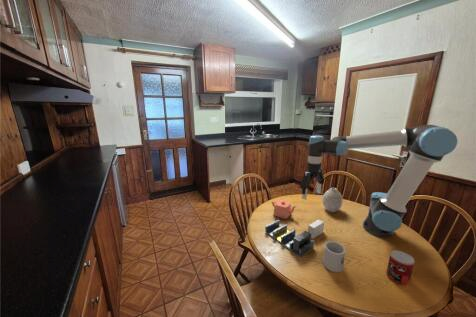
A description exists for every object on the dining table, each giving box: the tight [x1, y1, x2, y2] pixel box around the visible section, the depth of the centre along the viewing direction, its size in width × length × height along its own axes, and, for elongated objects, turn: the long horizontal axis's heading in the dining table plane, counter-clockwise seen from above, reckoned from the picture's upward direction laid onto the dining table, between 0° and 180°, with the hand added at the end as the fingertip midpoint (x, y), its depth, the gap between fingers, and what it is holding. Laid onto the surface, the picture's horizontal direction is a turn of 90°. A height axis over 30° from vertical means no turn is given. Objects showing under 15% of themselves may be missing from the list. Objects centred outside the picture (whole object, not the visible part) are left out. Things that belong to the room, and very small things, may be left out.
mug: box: [322, 240, 347, 273], centre depth 93 cm, size 12×9×10 cm
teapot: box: [271, 199, 298, 220], centre depth 134 cm, size 12×18×10 cm, turn 57°
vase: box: [321, 187, 343, 213], centre depth 139 cm, size 13×13×17 cm
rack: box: [264, 219, 315, 258], centre depth 110 cm, size 25×11×8 cm, turn 36°
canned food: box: [385, 250, 416, 286], centre depth 84 cm, size 8×8×11 cm
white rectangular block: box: [307, 219, 325, 240], centre depth 115 cm, size 4×10×7 cm, turn 126°
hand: (311, 196), depth 120 cm, fingers open, 13 cm apart
